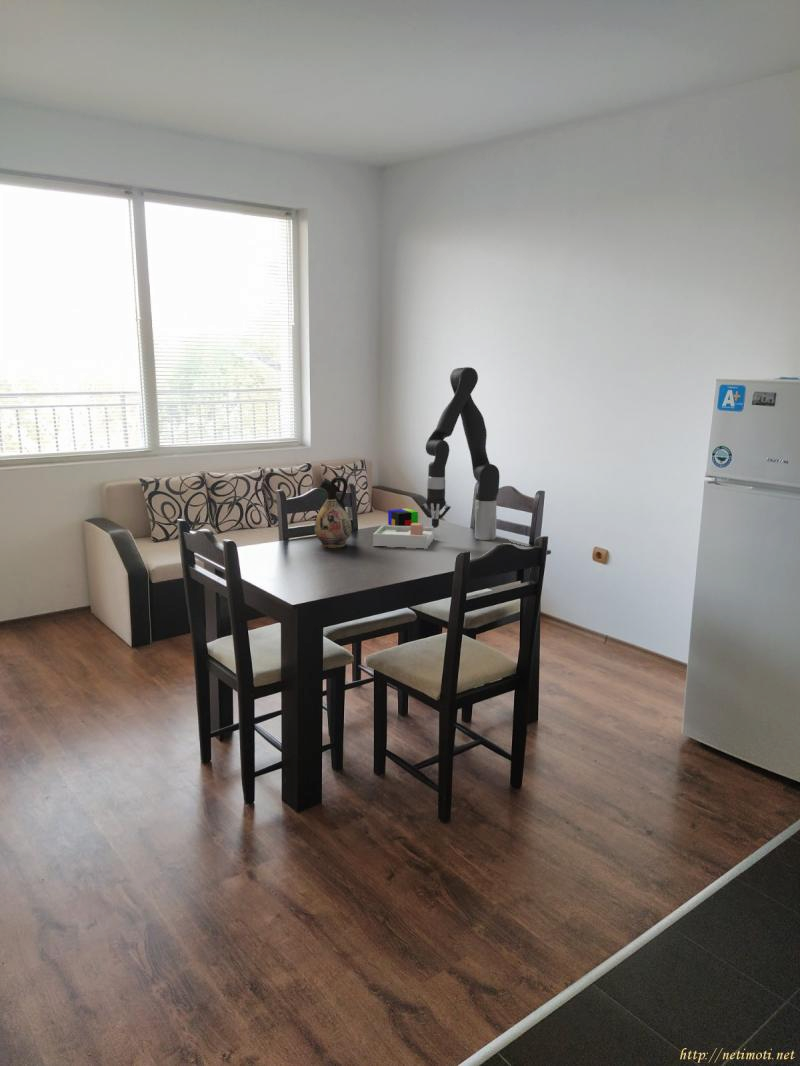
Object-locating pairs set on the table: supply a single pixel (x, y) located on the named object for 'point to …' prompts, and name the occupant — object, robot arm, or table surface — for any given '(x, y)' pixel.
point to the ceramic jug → (333, 516)
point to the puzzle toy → (402, 517)
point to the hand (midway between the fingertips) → (435, 527)
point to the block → (416, 529)
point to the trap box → (402, 537)
